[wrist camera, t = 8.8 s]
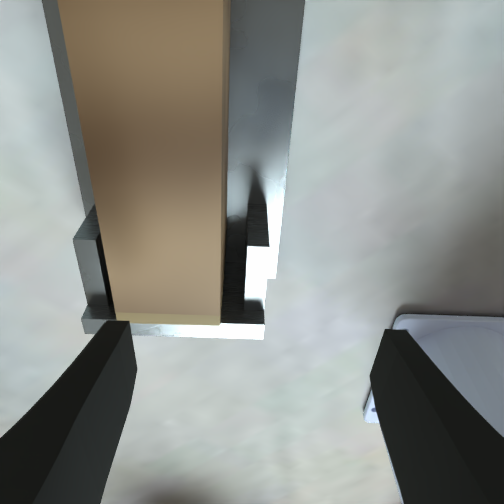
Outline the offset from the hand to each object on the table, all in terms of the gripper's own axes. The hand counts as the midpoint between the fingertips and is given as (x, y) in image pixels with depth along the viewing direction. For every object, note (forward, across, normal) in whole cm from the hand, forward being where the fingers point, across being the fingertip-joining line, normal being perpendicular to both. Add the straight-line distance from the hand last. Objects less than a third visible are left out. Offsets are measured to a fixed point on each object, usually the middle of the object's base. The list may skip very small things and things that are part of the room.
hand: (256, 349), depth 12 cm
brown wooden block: (+7, +3, -4) cm, 9 cm away
